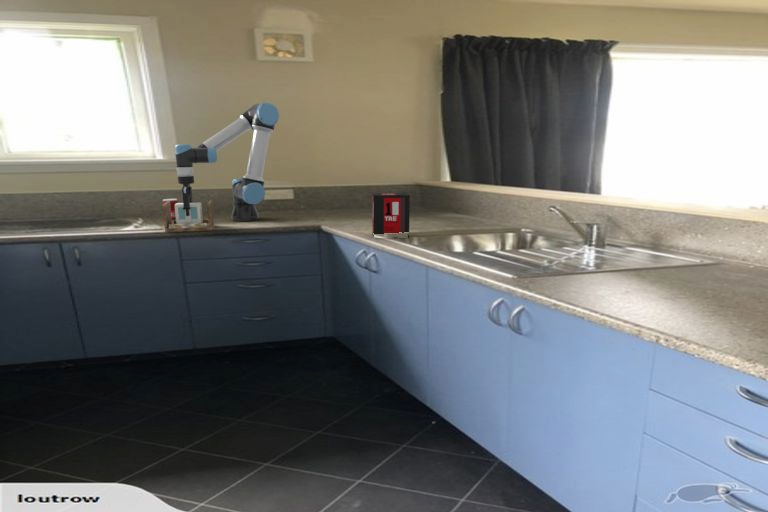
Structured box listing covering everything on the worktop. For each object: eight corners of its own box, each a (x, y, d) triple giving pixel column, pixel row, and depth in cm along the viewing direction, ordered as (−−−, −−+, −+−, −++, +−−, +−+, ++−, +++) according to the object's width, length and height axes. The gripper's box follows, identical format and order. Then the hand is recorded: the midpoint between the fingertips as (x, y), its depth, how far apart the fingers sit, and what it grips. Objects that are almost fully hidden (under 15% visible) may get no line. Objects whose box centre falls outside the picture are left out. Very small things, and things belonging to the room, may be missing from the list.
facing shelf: (214, 225, 265) (212, 200, 262) (211, 230, 252) (209, 203, 249) (170, 227, 261) (167, 201, 258) (164, 231, 248) (162, 204, 244)
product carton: (203, 221, 260) (201, 202, 258) (201, 223, 254) (199, 203, 252) (178, 222, 258) (176, 203, 255) (176, 224, 252) (174, 204, 249)
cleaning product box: (406, 234, 240) (407, 193, 236) (409, 238, 232) (409, 195, 227) (372, 235, 239) (372, 193, 234) (373, 238, 230) (373, 195, 226)
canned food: (181, 217, 293) (179, 198, 290) (174, 219, 285) (172, 200, 283) (169, 217, 294) (167, 198, 291) (162, 219, 286) (160, 200, 283)
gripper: (181, 174, 259) (185, 218, 264) (174, 177, 240) (178, 224, 246) (196, 174, 260) (200, 217, 266) (190, 176, 242) (194, 223, 247)
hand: (189, 220), depth 256 cm, fingers closed on product carton, 6 cm apart
